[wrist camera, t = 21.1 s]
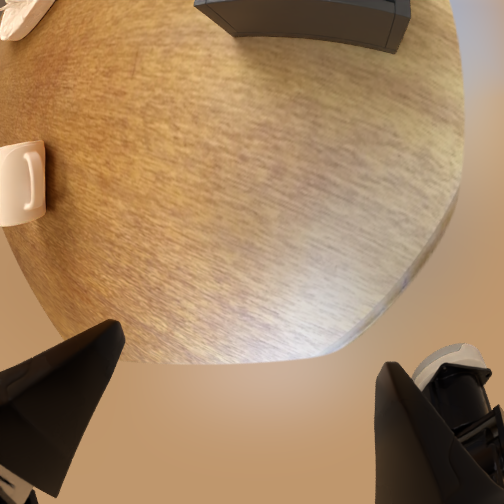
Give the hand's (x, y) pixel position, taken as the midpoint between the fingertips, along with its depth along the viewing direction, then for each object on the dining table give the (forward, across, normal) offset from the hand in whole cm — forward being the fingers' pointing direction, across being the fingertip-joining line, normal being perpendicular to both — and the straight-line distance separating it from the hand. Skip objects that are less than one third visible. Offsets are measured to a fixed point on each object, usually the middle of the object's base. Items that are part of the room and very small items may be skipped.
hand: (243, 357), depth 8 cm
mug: (+18, +30, -2) cm, 35 cm away
